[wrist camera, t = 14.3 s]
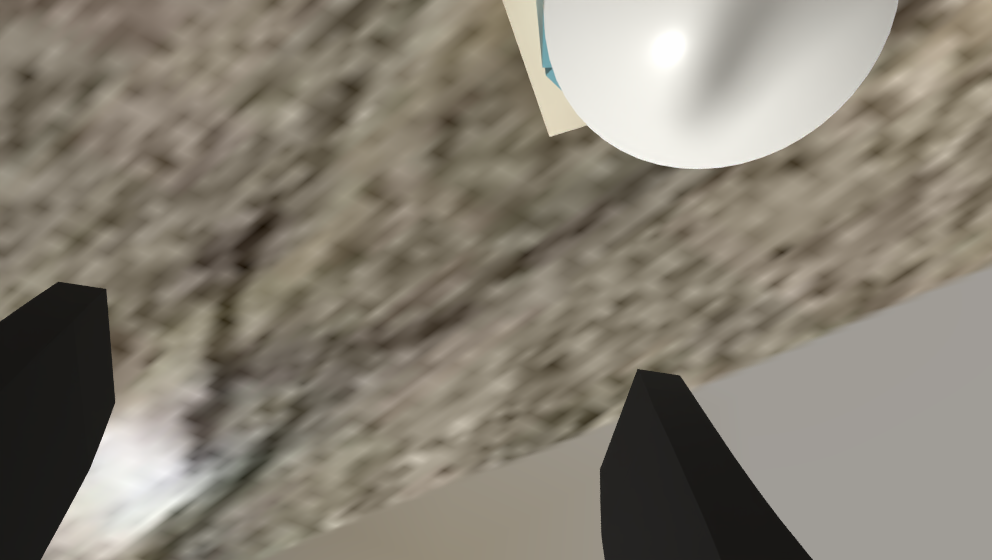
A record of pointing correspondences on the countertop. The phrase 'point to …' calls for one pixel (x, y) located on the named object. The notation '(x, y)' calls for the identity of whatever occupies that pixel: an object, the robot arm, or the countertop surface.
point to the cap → (709, 71)
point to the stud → (540, 69)
